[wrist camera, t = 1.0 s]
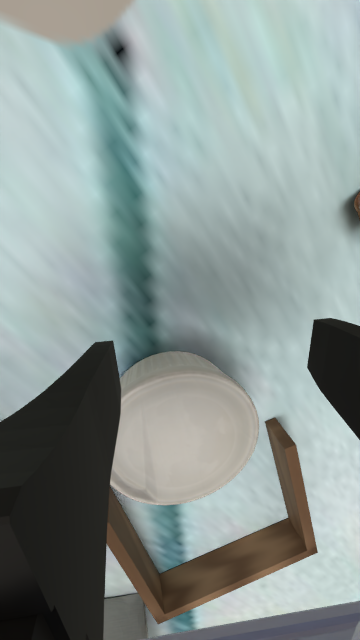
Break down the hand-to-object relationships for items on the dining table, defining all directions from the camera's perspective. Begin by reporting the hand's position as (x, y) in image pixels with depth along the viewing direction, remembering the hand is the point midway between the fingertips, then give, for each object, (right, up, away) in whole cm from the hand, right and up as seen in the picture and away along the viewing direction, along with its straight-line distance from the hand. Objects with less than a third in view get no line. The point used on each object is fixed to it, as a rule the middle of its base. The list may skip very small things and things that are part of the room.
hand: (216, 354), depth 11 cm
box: (+2, -17, +20) cm, 26 cm away
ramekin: (-2, -5, +15) cm, 16 cm away
